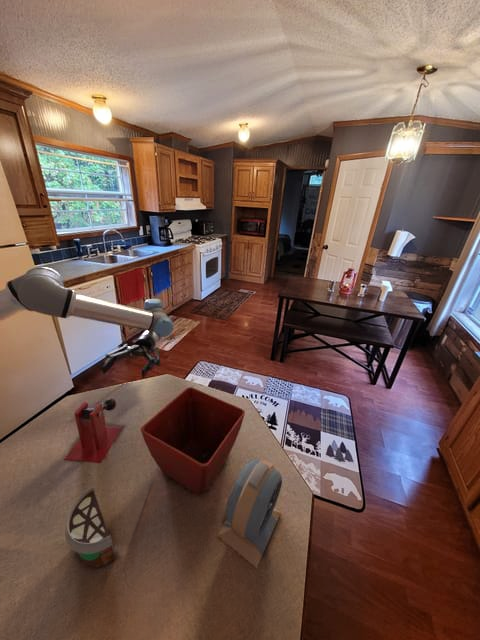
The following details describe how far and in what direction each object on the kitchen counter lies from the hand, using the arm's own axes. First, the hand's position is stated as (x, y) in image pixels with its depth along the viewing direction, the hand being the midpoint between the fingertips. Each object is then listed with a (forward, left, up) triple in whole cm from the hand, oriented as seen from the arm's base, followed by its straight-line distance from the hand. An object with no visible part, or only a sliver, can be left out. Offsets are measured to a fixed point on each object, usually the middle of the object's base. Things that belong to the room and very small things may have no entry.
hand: (123, 372), depth 87 cm
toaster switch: (+7, -18, -12) cm, 23 cm away
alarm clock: (+55, -18, -12) cm, 59 cm away
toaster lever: (+5, -15, -4) cm, 16 cm away
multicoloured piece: (+27, -36, -12) cm, 47 cm away
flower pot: (+36, -11, -12) cm, 39 cm away
